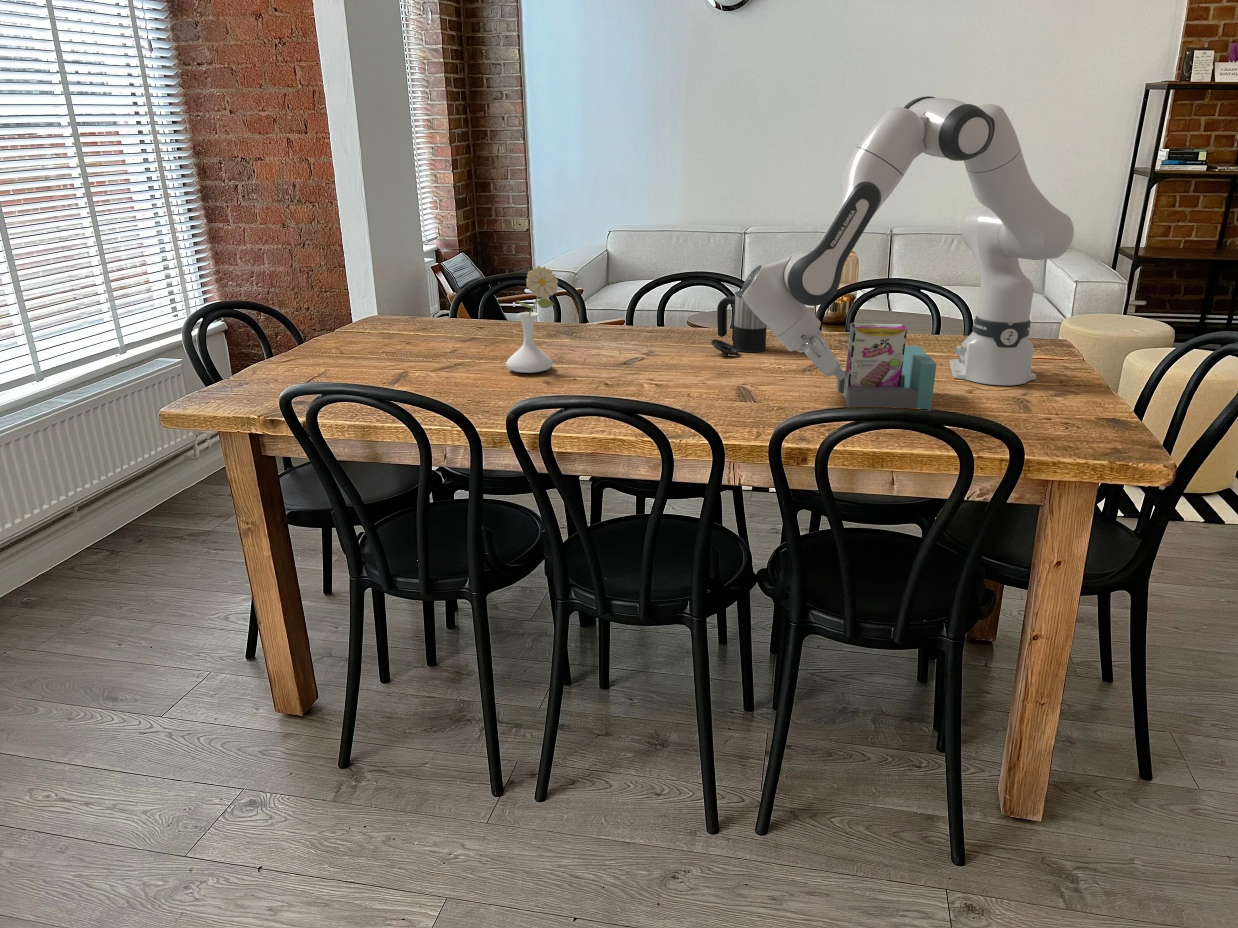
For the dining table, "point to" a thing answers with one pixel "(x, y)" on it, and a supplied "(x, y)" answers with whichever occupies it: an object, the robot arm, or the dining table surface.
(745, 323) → the milk frother
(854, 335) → the candy bar box
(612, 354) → the dining table surface
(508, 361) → the flower in vase
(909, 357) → the grey and teal stand
